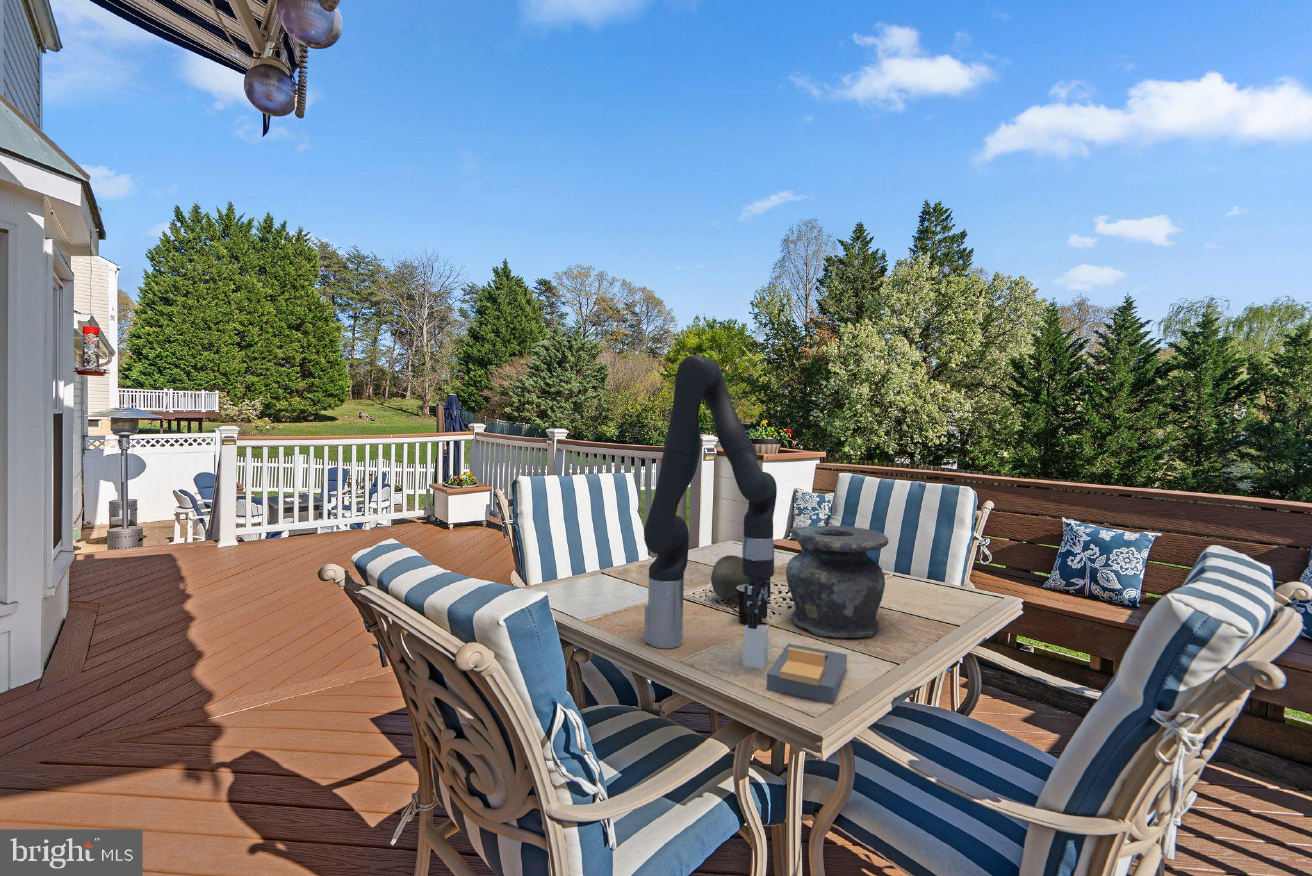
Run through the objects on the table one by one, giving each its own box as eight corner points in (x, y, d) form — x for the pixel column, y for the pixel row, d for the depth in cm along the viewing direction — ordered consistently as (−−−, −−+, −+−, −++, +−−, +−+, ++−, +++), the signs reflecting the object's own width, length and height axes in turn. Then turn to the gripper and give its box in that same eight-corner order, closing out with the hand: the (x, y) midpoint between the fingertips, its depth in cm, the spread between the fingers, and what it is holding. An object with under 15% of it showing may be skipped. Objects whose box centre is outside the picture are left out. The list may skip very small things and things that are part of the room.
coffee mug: (762, 617, 174) (763, 584, 174) (768, 627, 165) (769, 593, 165) (723, 617, 174) (724, 584, 173) (728, 627, 165) (729, 592, 165)
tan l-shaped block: (779, 677, 124) (780, 659, 124) (788, 664, 131) (788, 647, 131) (818, 685, 120) (818, 667, 120) (824, 671, 128) (825, 653, 127)
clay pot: (899, 613, 176) (898, 518, 172) (875, 660, 151) (874, 550, 147) (805, 597, 192) (802, 509, 188) (770, 636, 167) (766, 537, 163)
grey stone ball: (701, 598, 192) (702, 553, 192) (737, 594, 198) (738, 550, 198) (724, 610, 180) (725, 562, 179) (762, 606, 186) (763, 559, 185)
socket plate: (766, 689, 126) (767, 673, 126) (787, 657, 144) (788, 643, 144) (833, 704, 120) (833, 687, 120) (846, 668, 138) (847, 654, 138)
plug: (742, 665, 139) (743, 628, 139) (747, 659, 142) (748, 623, 142) (763, 669, 137) (764, 631, 136) (767, 663, 140) (768, 626, 140)
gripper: (751, 548, 147) (751, 612, 147) (733, 559, 134) (733, 629, 134) (781, 551, 144) (780, 616, 144) (765, 562, 131) (764, 634, 131)
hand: (757, 622), depth 139 cm, fingers open, 8 cm apart
